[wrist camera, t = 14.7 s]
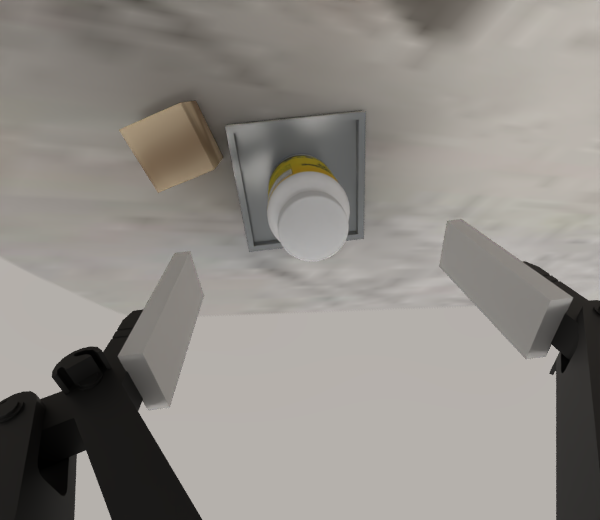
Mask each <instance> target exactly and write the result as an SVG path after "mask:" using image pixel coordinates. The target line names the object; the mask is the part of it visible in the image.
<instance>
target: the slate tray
mask: <svg viewBox="0 0 600 520" xmlns="http://www.w3.org/2000/svg"><path fill="white" fill-rule="evenodd" d="M225 130H226V135H227V140H228V145H229V151H230V156H231V161H232V166H233V171H234V176H235V181H236V187H237V192H238V197H239V202H240V207H241V212H242V218H243V223H244V228H245V233H246V238H247V243H248V248H249V252H253V251H262V250H270V249H279V248H284V247H283V246H282V244H281V242H280V241H279V240H278V239H277V238H276V237H275V236H274V234H273V233H272V231H271V229H270V226H269V223H268V217H267V205H268V186H269V180H270V177H271V174H272V172H273V170H274V169H275V167H276V166H277V165H278V164H279V163H280V162H281V161H283V160H284V159H286V158H288V157H290V156H293V155H298V154H305V155H310V156H313V157H316V158H317V159H319V160H320V161H322V162H323V163H324V164H325V165H326V166H327V167H328V169H329V170H330V171H331V173H332V174H333V176H334V177H335V178H336V179H337V181H338V182H339V184H340V185H341V186H342V188H343V189H344V191H345V193H346V195H347V198H348V201H349V206H350V215H349V221H348V224H349V230H348V235H347V239H346V241H348V240H357V239H364V194H365V131H366V111H362V110H361V111H351V112H342V113H332V114H323V115H313V116H303V117H294V118H284V119H275V120H265V121H256V122H246V123H237V124H227V125H226V126H225Z"/></svg>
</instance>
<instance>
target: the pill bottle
mask: <svg viewBox="0 0 600 520" xmlns="http://www.w3.org/2000/svg"><path fill="white" fill-rule="evenodd" d="M349 215H350V206H349V201H348V198H347V195H346V193H345V191H344V189H343V188H342V186H341V185H340V184H339V182H338V181H337V179H336V178H335V177H334V176H333V174H332V173H331V171H330V170H329V169H328V167H327V166H326V165H325V164H324V163H323V162H322V161H320V160H319V159H317V158H316V157H313V156H310V155H305V154H298V155H293V156H290V157H288V158H286V159H284V160H283V161H281V162H280V163H279V164H278V165H277V166H276V167H275V169H274V170H273V172H272V174H271V177H270V180H269V186H268V205H267V217H268V223H269V226H270V229H271V231H272V233H273V234H274V236H275V237H276V238H277V239H278V240H279V241H280V242H281V244H282V246H283V247H284V249H285V250H286V251H287V252H288V253H289V254H290V255H292V256H293V257H295V258H297V259H299V260H303V261H309V262H313V261H321V260H324V259H327V258H329V257H331V256H332V255H334V254H335V253H336V252H338V251H339V250H340V248H341V247H342V246H343V244H344V243H345V241H346V239H347V235H348V230H349V224H348V221H349Z"/></svg>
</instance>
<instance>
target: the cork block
mask: <svg viewBox="0 0 600 520" xmlns="http://www.w3.org/2000/svg"><path fill="white" fill-rule="evenodd" d="M119 131H120V133H121V134H122V136H123V137H124V139H125V141H126V142H127V144H128V145H129V147H130V149H131V150H132V152H133V153H134V155H135V157H136V158H137V160H138V161H139V163H140V165H141V166H142V168H143V169H144V171H145V173H146V174H147V176H148V177H149V179H150V181H151V182H152V184H153V185H154V187H155V189H156V190H157V192H158V193H159V192H161V191H164V190H166V189H168V188H171V187H173V186H176V185H178V184H181V183H183V182H186V181H188V180H190V179H193V178H195V177H198V176H200V175H203V174H205V173H208V172H210V171H212V170H215V168H216V167H217V166H218V164H219V163H220V161H221V160H222V159H223V156H222V154H221V152H220V150H219V148H218V146H217V144H216V142H215V140H214V137H213V135H212V133H211V131H210V129H209V127H208V125H207V123H206V121H205V119H204V117H203V115H202V113H201V111H200V108H199V106H198V104H197V102H196V101H189V102H181V103H178V104H176V105H174V106H172V107H169V108H167V109H165V110H163V111H160V112H158V113H156V114H153V115H151V116H149V117H147V118H144V119H142V120H140V121H137V122H135V123H133V124H131V125H128V126H126V127H124V128H122V129H119Z"/></svg>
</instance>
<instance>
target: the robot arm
mask: <svg viewBox="0 0 600 520" xmlns="http://www.w3.org/2000/svg"><path fill="white" fill-rule="evenodd" d="M439 267H440V268H441V269H442V270H443V271H444V272H445V273H446V274H447V275H448V276H449V277H450V278H451V280H452V281H453V282H454V283H455V284H456V285H457V286H458V287H459V288H460V289H461V290H462V291H463V292H464V293H465V295H466V296H467V297H468V298H469V299H470V300H471V301H472V302H473V303H474V304H475V305H476V306H477V307H478V308H479V310H480V311H481V312H482V313H483V314H484V315H485V316H486V317H487V318H488V319H489V320H490V321H491V322H492V323H493V324H494V326H495V327H496V328H497V329H498V330H499V331H500V332H501V333H502V334H503V335H504V336H505V337H506V338H507V339H508V341H509V342H510V343H511V344H512V345H513V346H514V347H515V348H516V349H517V350H518V351H519V352H520V353H521V355H522V356H523V357H524V358H525V359H531V358H539V357H545V356H546V355H547V353H548V351H549V349H550V347H551V344H552V345H553V346H554V347H555V348H556V349H558V351H560V352H559V354H558V357H557V358H556V361H555V363H554V365H553V367H552V369H551V371H550V374H552V375H553V374H554V372H555V371H556V422H557V423H556V452H557V453H556V459H557V460H556V461H557V462H556V472H557V473H556V485H557V486H556V493H557V494H556V500H557V501H556V514H557V516H556V520H600V301H598V300H593V301H588V300H587V299H585V298H584V297H582V296H581V295H579V294H578V293H577V292H575V291H574V290H572V289H571V288H569V287H568V286H566V285H565V284H563V283H562V282H558V280H557V279H556V278H554V277H553V276H550V275H549V273H547V272H546V271H544V270H543V269H541V268H540V267H538V266H535V265H533V264H530V263H528V262H525V261H524V262H522V261H520V260H519V259H518V258H516V257H515V256H513V255H512V254H511V253H509V252H508V251H506V250H505V249H503V248H502V247H501V246H499V245H498V244H496V243H495V242H493V241H492V240H491V239H489V238H488V237H486V236H485V235H483V234H482V233H481V232H479V231H478V230H476V229H475V228H473V227H472V226H471V225H469V224H468V223H466V222H465V221H464V220H462V219H458V220H450V221H447V224H446V230H445V235H444V241H443V247H442V253H441V259H440V264H439ZM203 297H204V294H203V291H202V288H201V285H200V281H199V278H198V275H197V272H196V268H195V265H194V262H193V259H192V256H191V252H190V251H189V252H181V253H175V254H174V255H173V257H172V259H171V261H170V263H169V264H168V266H167V268H166V270H165V272H164V274H163V275H162V277H161V279H160V281H159V283H158V284H157V286H156V288H155V290H154V292H153V293H152V295H151V297H150V299H149V301H148V302H147V304H146V306H145V308H144V310H137V311H133V312H132V313H130V314H129V315H128V316H127V317H126V318H125V319H124V320H123V321H122V323H121V324H120V326H119V328H118V329H117V332H115V334H114V336H113V339H111V341H110V342H109V344H108V345H107V347H106V349H105V350H104V352H102V350H100V349H99V348H98V347H87V348H82V349H79V350H77V351H74V352H72V353H71V354H69V355H68V356H66V357H64V358H63V359H62V360H61V361H60V362H59V363H58V364H57V365H56V366H55V368H54V370H53V372H52V378H53V379H54V380H55V382H56V383H57V384H58V386H59V387H60V388H61V390H62V391H61V392H59V393H56V394H53V395H51V396H48V397H45V398H42V399H39V397H38V396H37V395H36V394H35V393H33V392H31V391H29V392H21V393H17V394H14V395H12V396H10V397H8V398H6V399H4V400H3V401H1V402H0V520H74V510H75V484H76V458H77V454H78V453H80V452H82V451H85V450H86V451H87V454H88V456H89V459H90V462H91V465H92V467H93V470H94V473H95V475H96V478H97V480H98V483H99V486H100V489H101V491H102V494H103V497H104V499H105V502H106V505H107V508H108V510H109V513H110V516H111V519H112V520H202V519H201V517H200V515H199V514H198V512H197V510H196V508H195V507H194V505H193V503H192V502H191V500H190V498H189V497H188V495H187V493H186V492H185V490H184V488H183V487H182V485H181V483H180V481H179V480H178V478H177V476H176V475H175V473H174V472H173V470H172V468H171V466H170V465H169V463H168V461H167V460H166V458H165V456H164V454H163V453H162V451H161V449H160V448H159V446H158V444H157V443H156V441H155V439H154V438H153V436H152V434H151V433H150V431H149V429H148V428H147V426H146V424H145V423H144V421H143V419H142V418H141V416H140V414H139V413H138V410H139V408H140V405H141V402H142V401H143V402H144V404H145V406H146V408H147V409H148V410H154V409H161V408H169V407H170V405H171V401H172V398H173V395H174V392H175V388H176V385H177V382H178V378H179V375H180V372H181V368H182V365H183V362H184V359H185V355H186V352H187V349H188V345H189V343H190V339H191V336H192V333H193V329H194V326H195V323H196V320H197V316H198V313H199V310H200V307H201V303H202V300H203Z"/></svg>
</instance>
